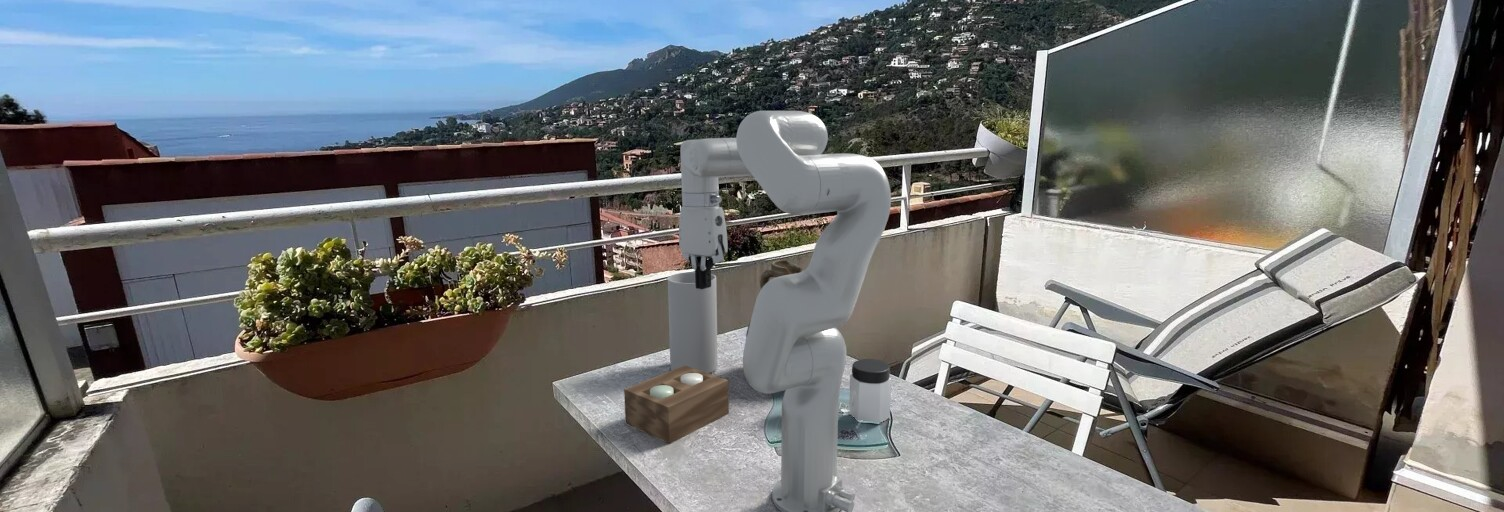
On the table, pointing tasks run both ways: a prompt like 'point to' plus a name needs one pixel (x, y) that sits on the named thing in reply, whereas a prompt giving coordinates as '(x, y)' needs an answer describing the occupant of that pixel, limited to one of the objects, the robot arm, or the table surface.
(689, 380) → the ivory button
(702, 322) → the cylinder vase
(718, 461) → the table surface
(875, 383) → the jar
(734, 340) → the table surface
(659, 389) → the sage button
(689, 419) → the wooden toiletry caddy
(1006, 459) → the table surface
